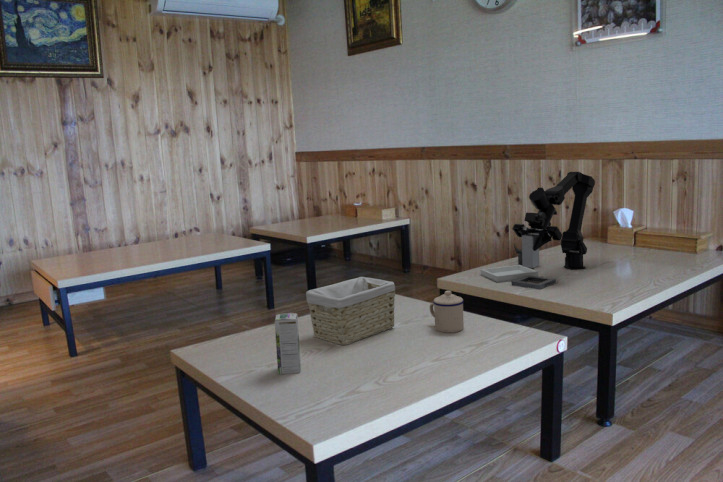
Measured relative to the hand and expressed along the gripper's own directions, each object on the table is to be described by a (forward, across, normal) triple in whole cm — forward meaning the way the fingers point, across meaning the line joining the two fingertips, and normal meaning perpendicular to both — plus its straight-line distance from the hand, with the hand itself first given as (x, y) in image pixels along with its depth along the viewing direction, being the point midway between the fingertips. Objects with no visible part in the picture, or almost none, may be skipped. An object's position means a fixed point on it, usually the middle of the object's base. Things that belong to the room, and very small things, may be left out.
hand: (528, 249), depth 229 cm
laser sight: (-10, -20, +30) cm, 38 cm away
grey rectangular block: (+4, 0, +6) cm, 7 cm away
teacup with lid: (+52, +10, -34) cm, 63 cm away
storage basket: (+67, -10, -48) cm, 83 cm away
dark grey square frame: (+9, +1, +10) cm, 13 cm away
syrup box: (+89, +1, -70) cm, 113 cm away
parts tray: (+5, -14, +14) cm, 20 cm away
